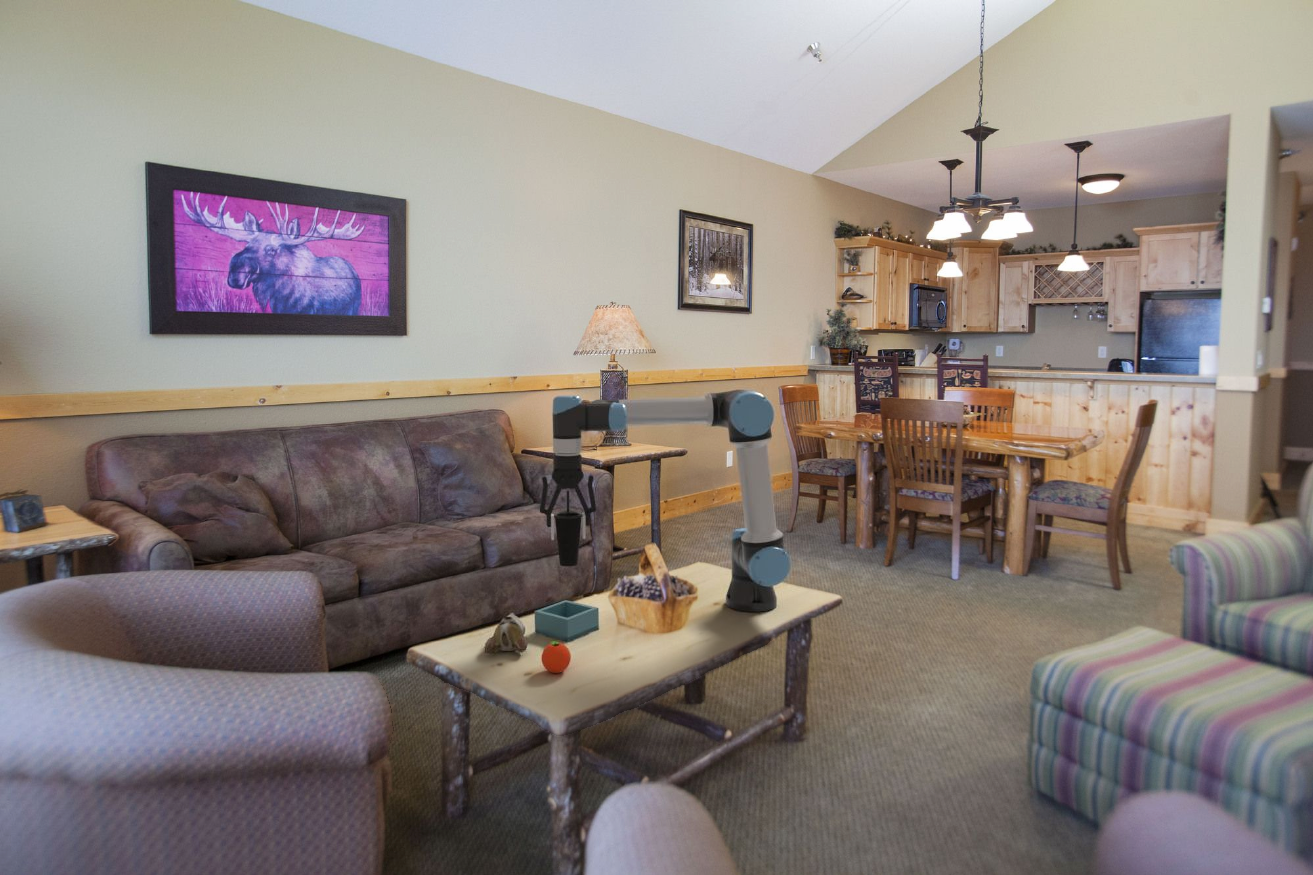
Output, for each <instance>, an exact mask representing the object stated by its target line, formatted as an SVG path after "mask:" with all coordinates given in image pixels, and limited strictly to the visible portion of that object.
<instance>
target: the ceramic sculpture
mask: <svg viewBox="0 0 1313 875" xmlns="http://www.w3.org/2000/svg"><path fill="white" fill-rule="evenodd" d="M525 633H526V627H525V625H524V624H523V622H522V620H521V619H520V618H519V617H518V616H516V615H515V613H514V612H510V613H509V615H506V616H505V617H503V618H502V619H501V620H500V623H499V624H498V625H497V627H496V628H495V630H494V632H493V635H492V637H489V638H488V639H487V640H486V642H485V644H484V645H485V646H484V653H485V654H492V653H496V652H497V651H498V650H500V651H502V652H512V651H515V652H517V653H523V652H525V651H526V650H527V648H528V638H527V637H526V636H525Z"/></svg>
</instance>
